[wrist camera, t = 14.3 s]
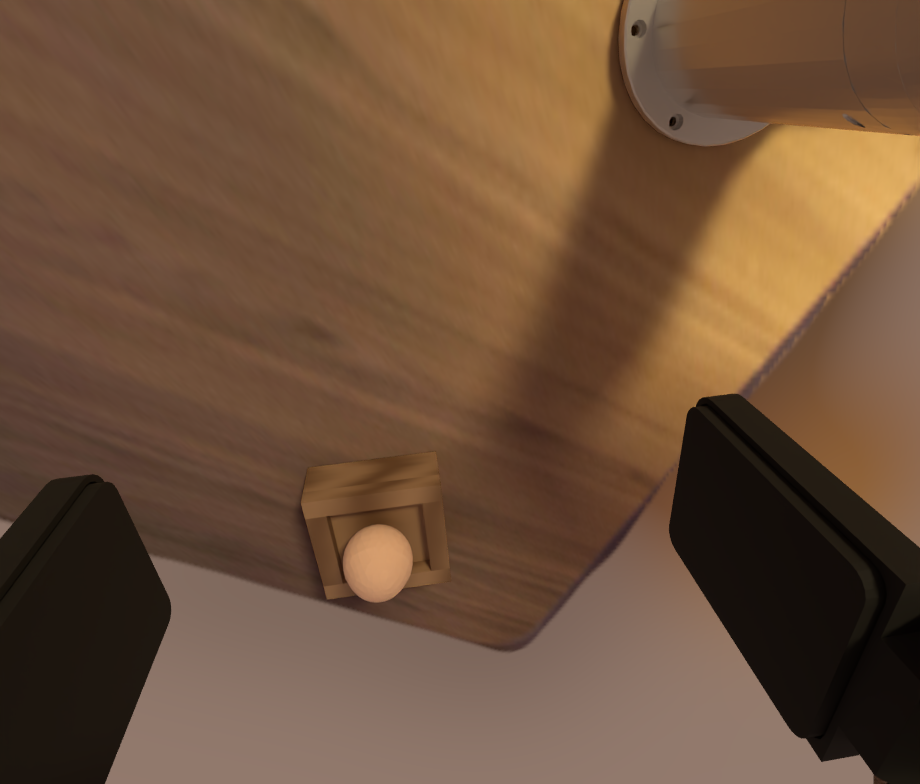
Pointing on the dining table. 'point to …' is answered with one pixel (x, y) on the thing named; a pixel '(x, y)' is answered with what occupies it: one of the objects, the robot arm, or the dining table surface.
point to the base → (377, 514)
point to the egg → (377, 562)
